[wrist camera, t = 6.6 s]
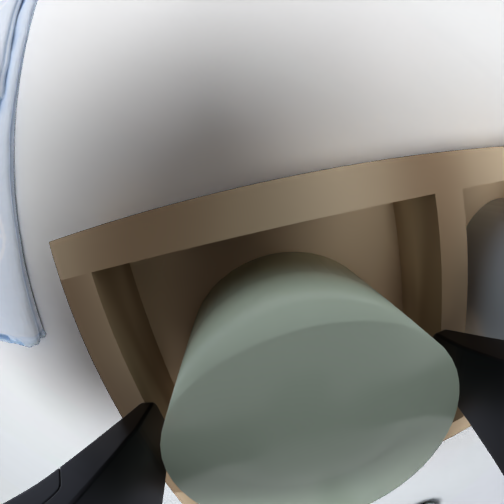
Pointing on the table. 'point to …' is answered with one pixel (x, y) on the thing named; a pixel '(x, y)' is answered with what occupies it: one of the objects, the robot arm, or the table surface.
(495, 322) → the pale blue rounded cylinder
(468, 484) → the table surface
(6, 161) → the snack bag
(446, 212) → the divided wooden tray
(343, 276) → the sage green cylinder
